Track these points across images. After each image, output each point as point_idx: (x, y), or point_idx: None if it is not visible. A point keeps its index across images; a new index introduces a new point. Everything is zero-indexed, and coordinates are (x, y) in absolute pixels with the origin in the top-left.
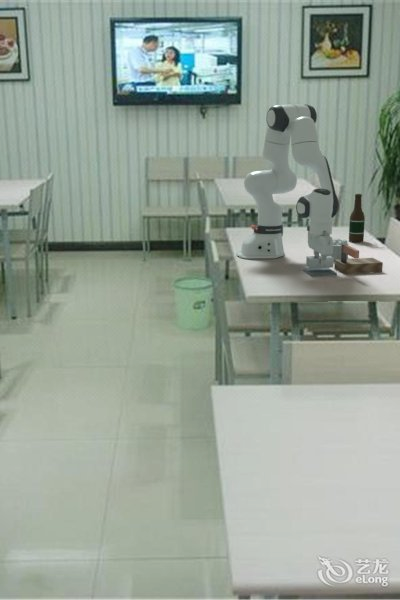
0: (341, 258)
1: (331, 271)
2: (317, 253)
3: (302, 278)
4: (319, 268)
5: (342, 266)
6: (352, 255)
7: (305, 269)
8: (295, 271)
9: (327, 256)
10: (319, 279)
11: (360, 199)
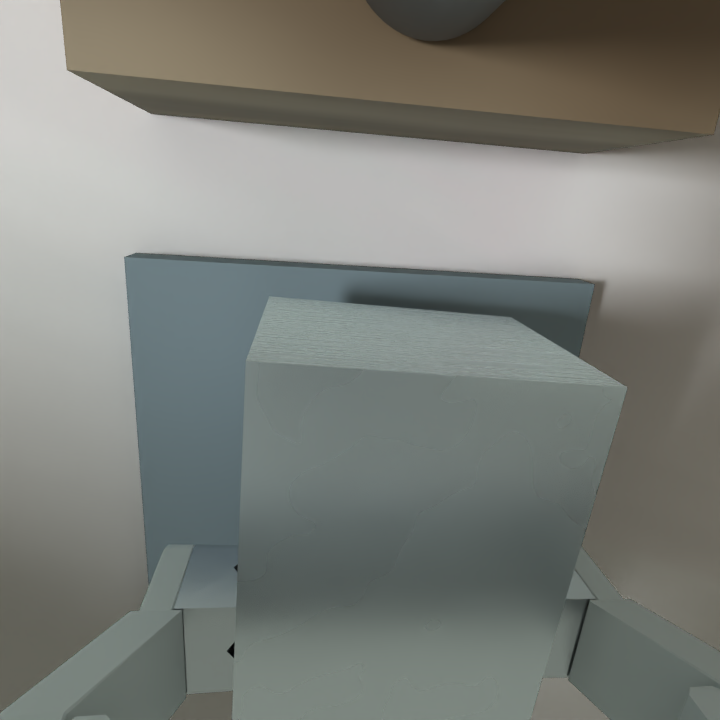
0: (473, 5)
1: None
2: (110, 718)
3: (558, 707)
4: (207, 427)
5: (608, 134)
6: None
7: None
8: (206, 701)
9: (377, 480)
10: (681, 571)
11: None
